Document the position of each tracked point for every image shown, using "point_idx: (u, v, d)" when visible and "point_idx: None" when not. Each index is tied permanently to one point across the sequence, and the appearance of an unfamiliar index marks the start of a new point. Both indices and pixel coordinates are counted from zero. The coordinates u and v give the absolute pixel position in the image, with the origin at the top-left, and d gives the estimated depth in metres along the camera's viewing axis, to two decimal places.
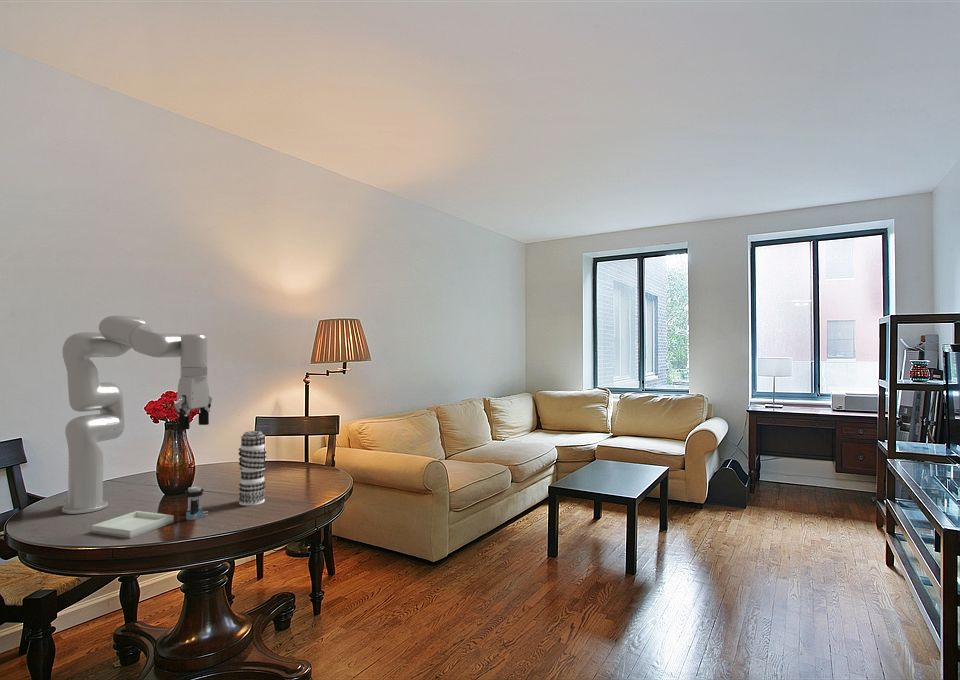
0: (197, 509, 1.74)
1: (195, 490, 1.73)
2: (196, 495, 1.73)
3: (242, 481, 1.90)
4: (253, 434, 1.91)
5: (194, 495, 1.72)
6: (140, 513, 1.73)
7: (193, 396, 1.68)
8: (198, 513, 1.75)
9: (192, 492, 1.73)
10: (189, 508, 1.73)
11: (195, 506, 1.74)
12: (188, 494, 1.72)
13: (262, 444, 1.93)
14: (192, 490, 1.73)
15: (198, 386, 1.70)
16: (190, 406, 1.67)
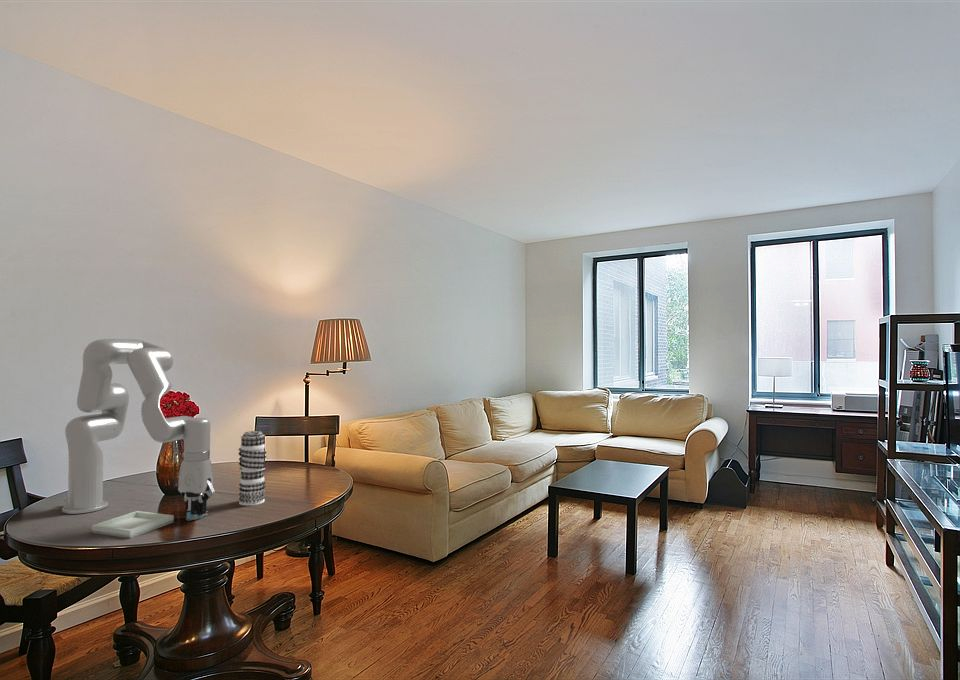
0: None
1: None
2: (197, 495, 1.73)
3: (242, 481, 1.90)
4: (253, 434, 1.91)
5: (195, 495, 1.72)
6: (140, 513, 1.73)
7: None
8: None
9: None
10: (189, 508, 1.73)
11: (195, 506, 1.74)
12: (189, 494, 1.72)
13: (262, 444, 1.93)
14: None
15: None
16: None
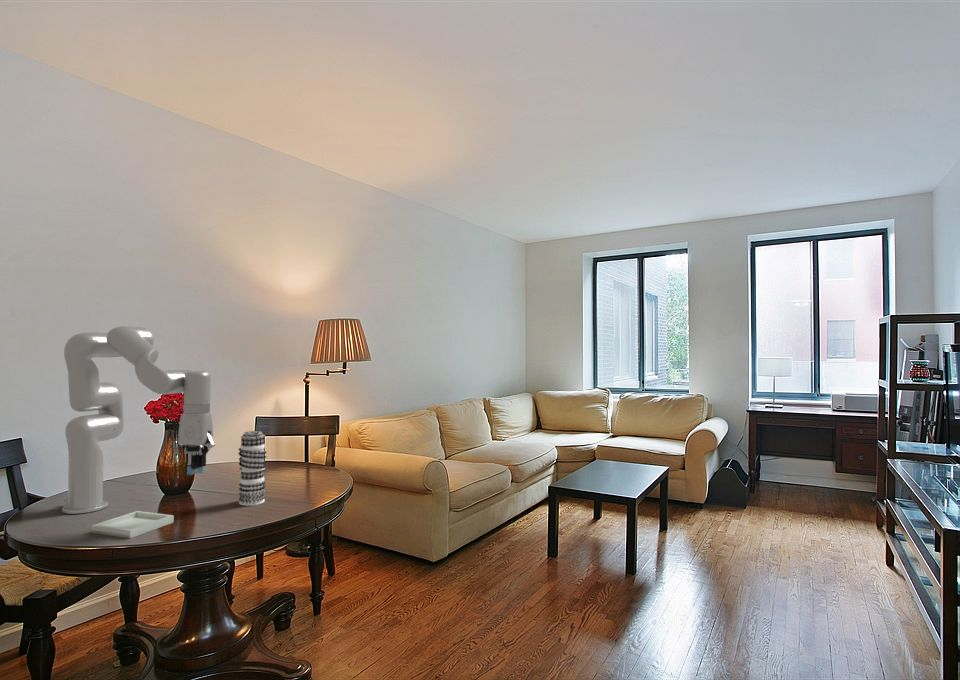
0: None
1: None
2: (197, 449, 1.73)
3: (242, 481, 1.90)
4: (253, 434, 1.91)
5: (195, 449, 1.73)
6: (140, 513, 1.73)
7: None
8: (198, 468, 1.75)
9: (193, 446, 1.72)
10: (190, 463, 1.73)
11: (196, 461, 1.74)
12: (189, 448, 1.72)
13: (262, 444, 1.93)
14: None
15: None
16: None
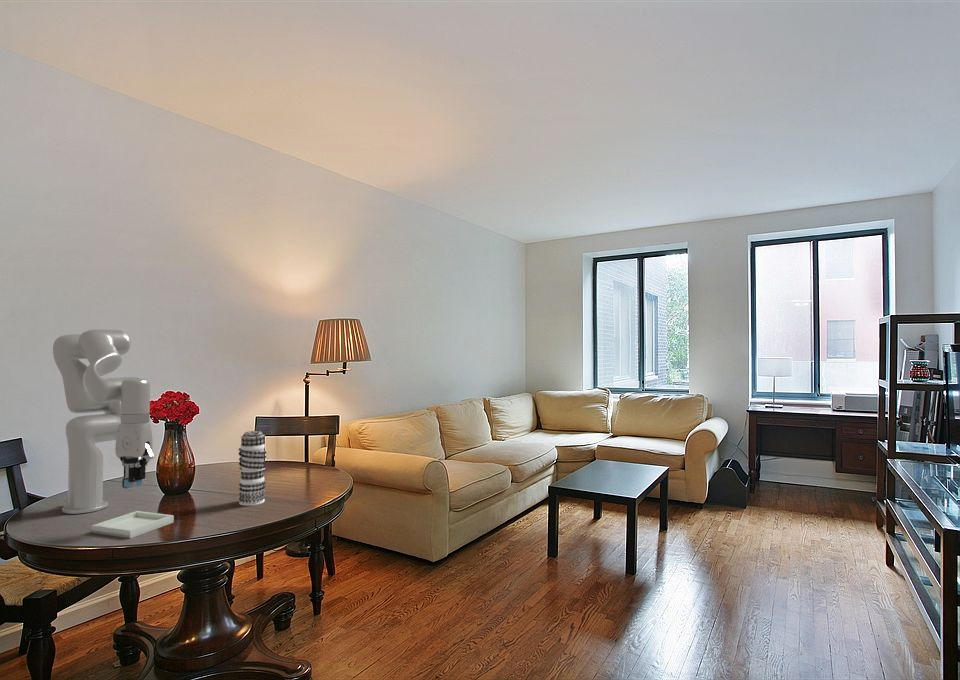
0: None
1: None
2: (135, 461, 1.64)
3: (242, 481, 1.90)
4: (253, 434, 1.91)
5: (133, 461, 1.63)
6: (140, 513, 1.73)
7: None
8: (137, 481, 1.65)
9: (130, 458, 1.63)
10: (127, 475, 1.64)
11: (134, 473, 1.65)
12: (126, 460, 1.63)
13: (262, 444, 1.93)
14: None
15: None
16: None
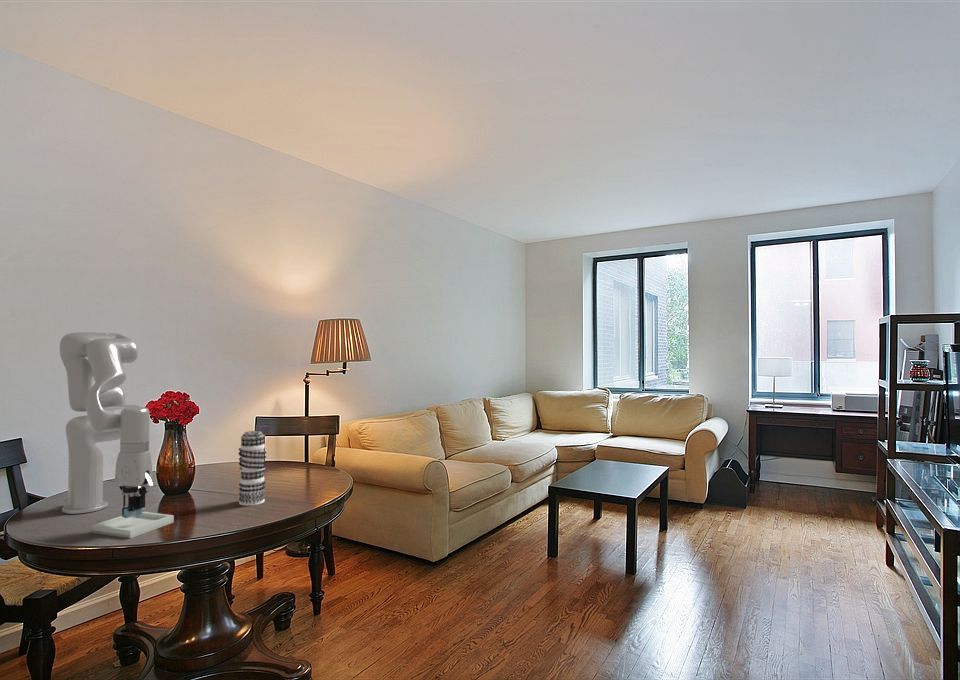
0: None
1: None
2: (135, 490, 1.64)
3: (242, 481, 1.90)
4: (253, 434, 1.91)
5: (132, 491, 1.63)
6: None
7: None
8: (137, 510, 1.65)
9: (130, 487, 1.63)
10: (127, 505, 1.64)
11: (133, 502, 1.64)
12: (126, 490, 1.63)
13: (262, 444, 1.93)
14: None
15: None
16: None
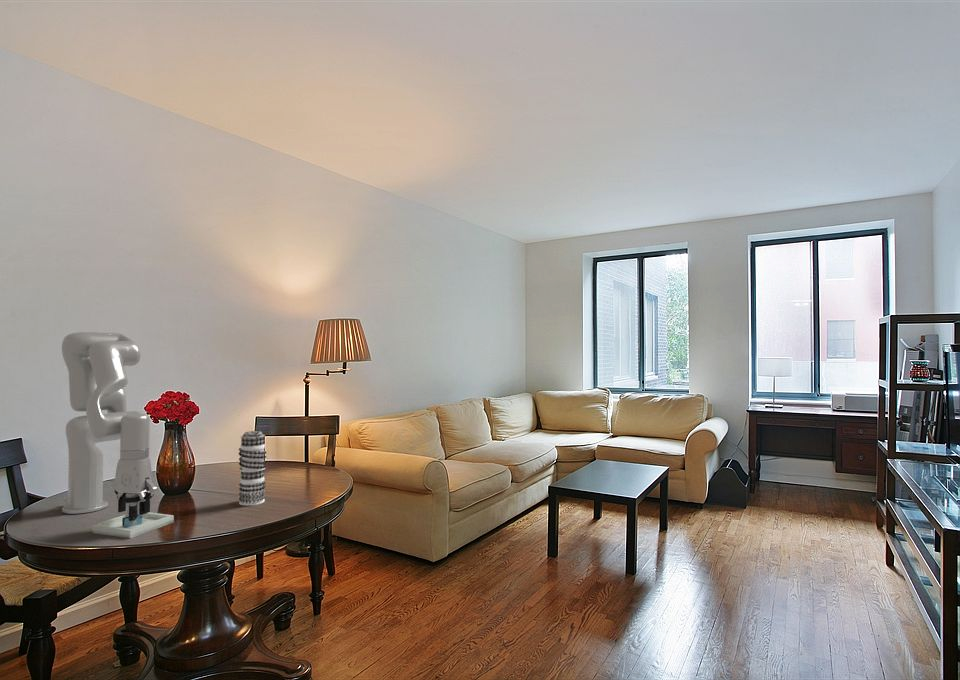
0: (136, 515, 1.65)
1: (134, 495, 1.64)
2: (135, 500, 1.64)
3: (242, 481, 1.90)
4: (253, 434, 1.91)
5: (133, 500, 1.63)
6: None
7: None
8: (137, 519, 1.66)
9: (131, 497, 1.63)
10: (127, 514, 1.64)
11: (134, 512, 1.65)
12: (126, 500, 1.63)
13: (262, 444, 1.93)
14: (131, 495, 1.64)
15: None
16: None
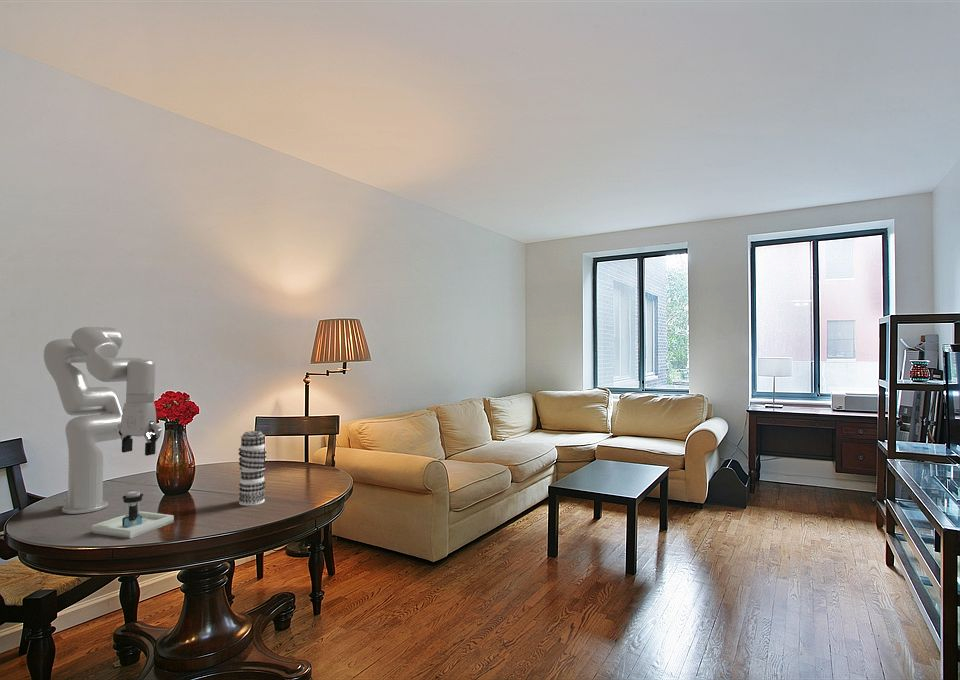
0: (136, 515, 1.65)
1: (134, 495, 1.64)
2: (136, 500, 1.64)
3: (242, 481, 1.90)
4: (253, 434, 1.91)
5: (133, 500, 1.63)
6: (140, 513, 1.73)
7: None
8: (137, 519, 1.66)
9: (131, 497, 1.63)
10: (127, 514, 1.64)
11: (134, 512, 1.65)
12: (127, 500, 1.63)
13: (262, 444, 1.93)
14: (131, 495, 1.64)
15: None
16: None
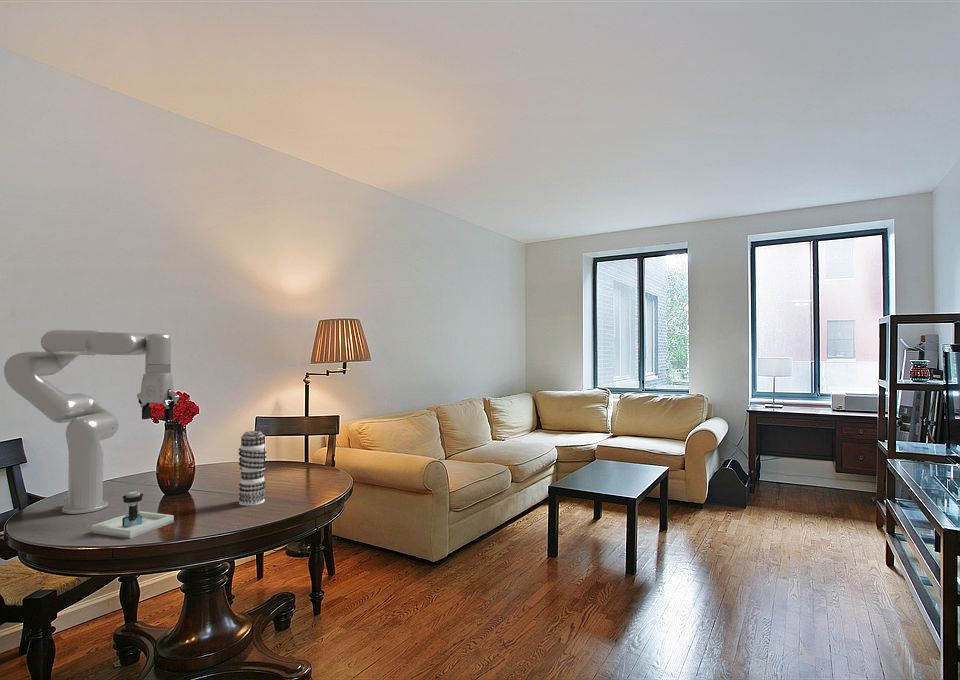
0: (136, 515, 1.65)
1: (134, 495, 1.64)
2: (136, 500, 1.64)
3: (242, 481, 1.90)
4: (253, 434, 1.91)
5: (133, 500, 1.63)
6: (140, 513, 1.73)
7: None
8: (137, 519, 1.66)
9: (131, 497, 1.63)
10: (127, 514, 1.64)
11: (134, 512, 1.65)
12: (127, 500, 1.63)
13: (262, 444, 1.93)
14: (131, 495, 1.64)
15: None
16: None
